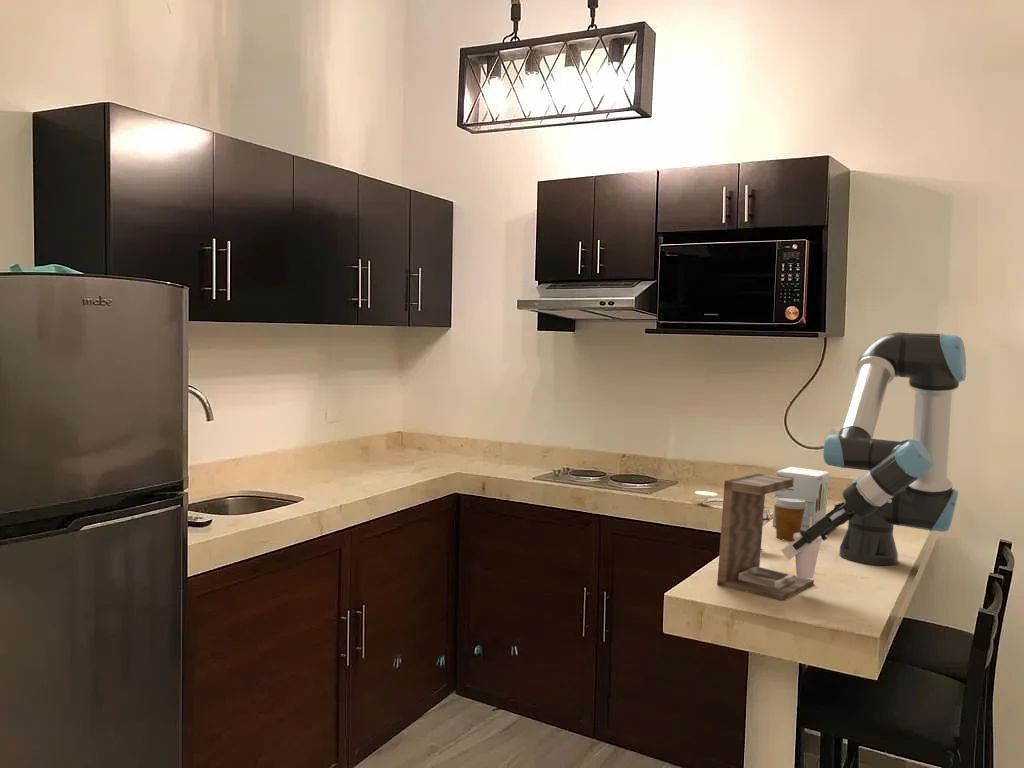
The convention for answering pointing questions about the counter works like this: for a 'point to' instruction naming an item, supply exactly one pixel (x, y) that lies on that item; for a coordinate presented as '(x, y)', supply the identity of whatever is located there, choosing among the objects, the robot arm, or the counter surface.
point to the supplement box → (806, 492)
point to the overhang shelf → (751, 539)
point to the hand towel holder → (706, 500)
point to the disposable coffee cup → (788, 516)
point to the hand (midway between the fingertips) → (791, 552)
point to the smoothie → (807, 557)
